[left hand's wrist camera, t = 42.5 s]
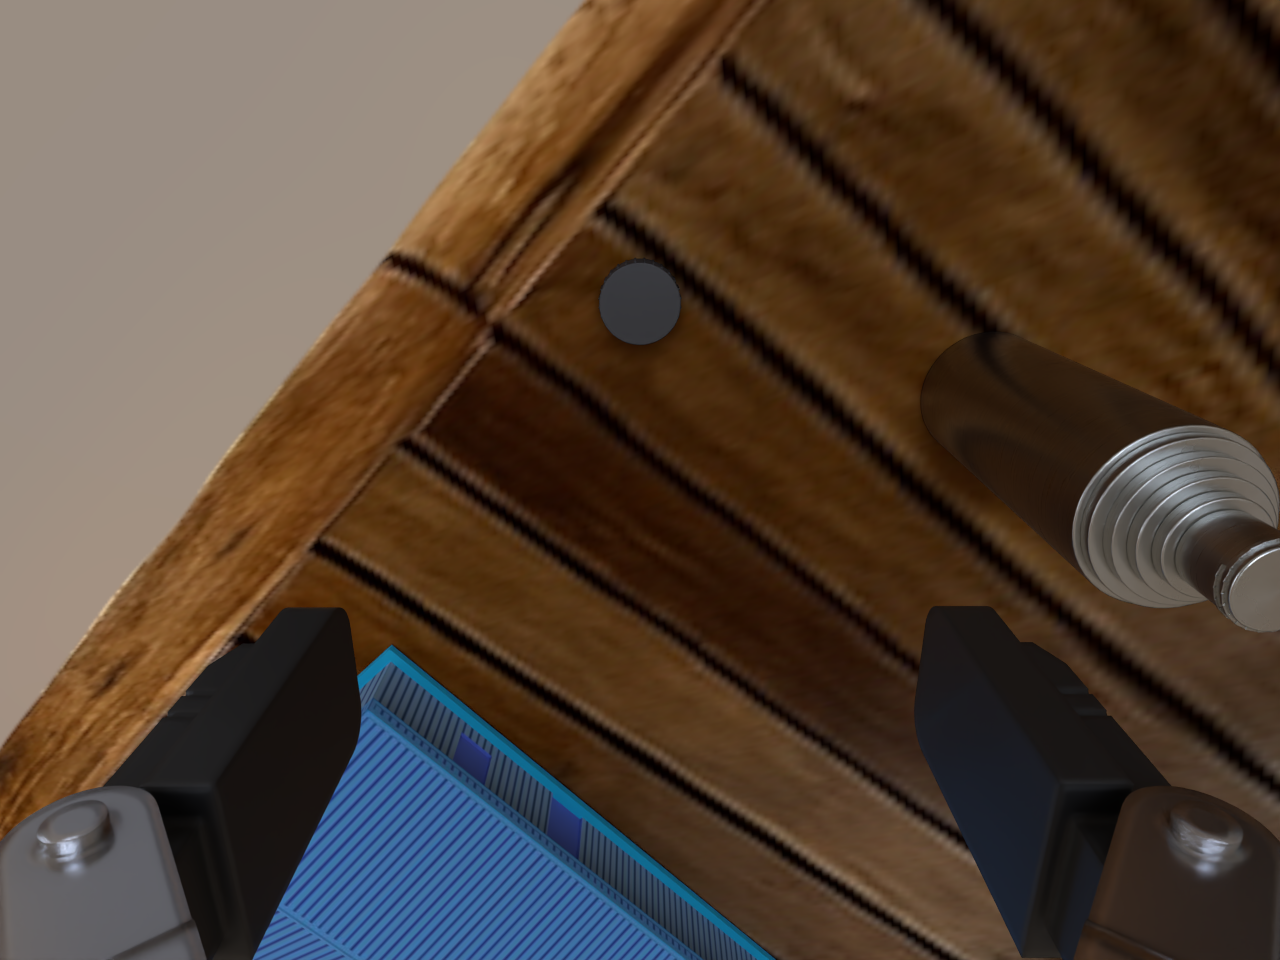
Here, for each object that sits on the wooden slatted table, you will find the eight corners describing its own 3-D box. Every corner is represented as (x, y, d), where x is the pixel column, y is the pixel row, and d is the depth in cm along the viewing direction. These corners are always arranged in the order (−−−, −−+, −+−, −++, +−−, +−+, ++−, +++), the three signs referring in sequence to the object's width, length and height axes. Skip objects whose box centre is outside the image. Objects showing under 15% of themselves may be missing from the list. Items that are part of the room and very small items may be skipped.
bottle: (895, 420, 46) (1110, 633, 25) (969, 308, 44) (1274, 437, 23) (998, 475, 47) (1286, 723, 26) (1075, 368, 45) (1457, 545, 24)
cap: (692, 317, 44) (695, 323, 42) (621, 351, 45) (621, 359, 43) (658, 243, 43) (659, 246, 41) (586, 279, 43) (583, 285, 41)
